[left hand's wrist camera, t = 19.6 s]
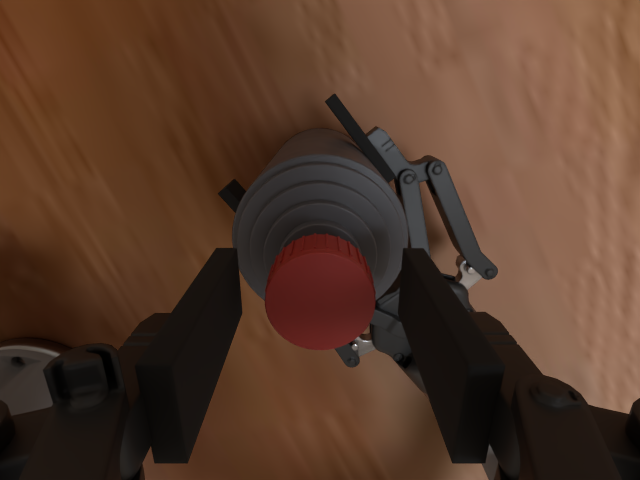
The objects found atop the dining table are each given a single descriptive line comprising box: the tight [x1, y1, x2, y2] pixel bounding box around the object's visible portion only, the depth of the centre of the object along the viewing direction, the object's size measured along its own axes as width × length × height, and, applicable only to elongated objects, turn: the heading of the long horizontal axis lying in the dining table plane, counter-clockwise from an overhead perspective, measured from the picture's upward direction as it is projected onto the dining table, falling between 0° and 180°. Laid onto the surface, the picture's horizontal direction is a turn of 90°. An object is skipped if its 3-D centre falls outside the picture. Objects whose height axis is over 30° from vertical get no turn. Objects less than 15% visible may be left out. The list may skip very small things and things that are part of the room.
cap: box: [265, 233, 376, 350], centre depth 14 cm, size 4×4×2 cm
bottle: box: [232, 128, 408, 300], centre depth 23 cm, size 8×8×21 cm
